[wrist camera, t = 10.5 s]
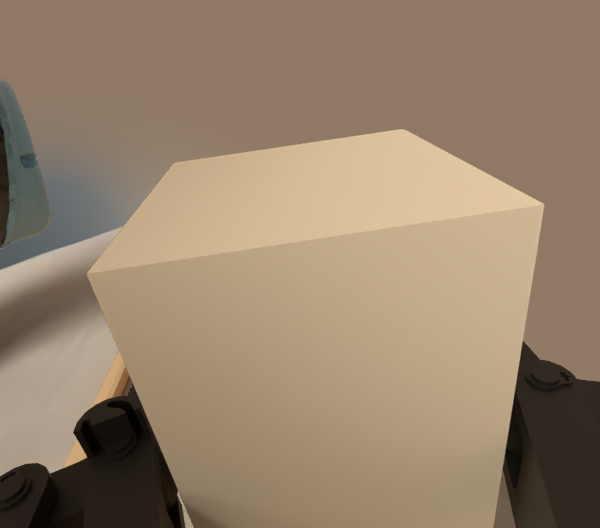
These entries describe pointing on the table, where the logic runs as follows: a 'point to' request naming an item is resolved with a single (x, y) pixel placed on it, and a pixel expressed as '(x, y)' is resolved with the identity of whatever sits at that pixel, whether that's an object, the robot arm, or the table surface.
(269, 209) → the beige and grey block
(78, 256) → the table surface
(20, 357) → the table surface
